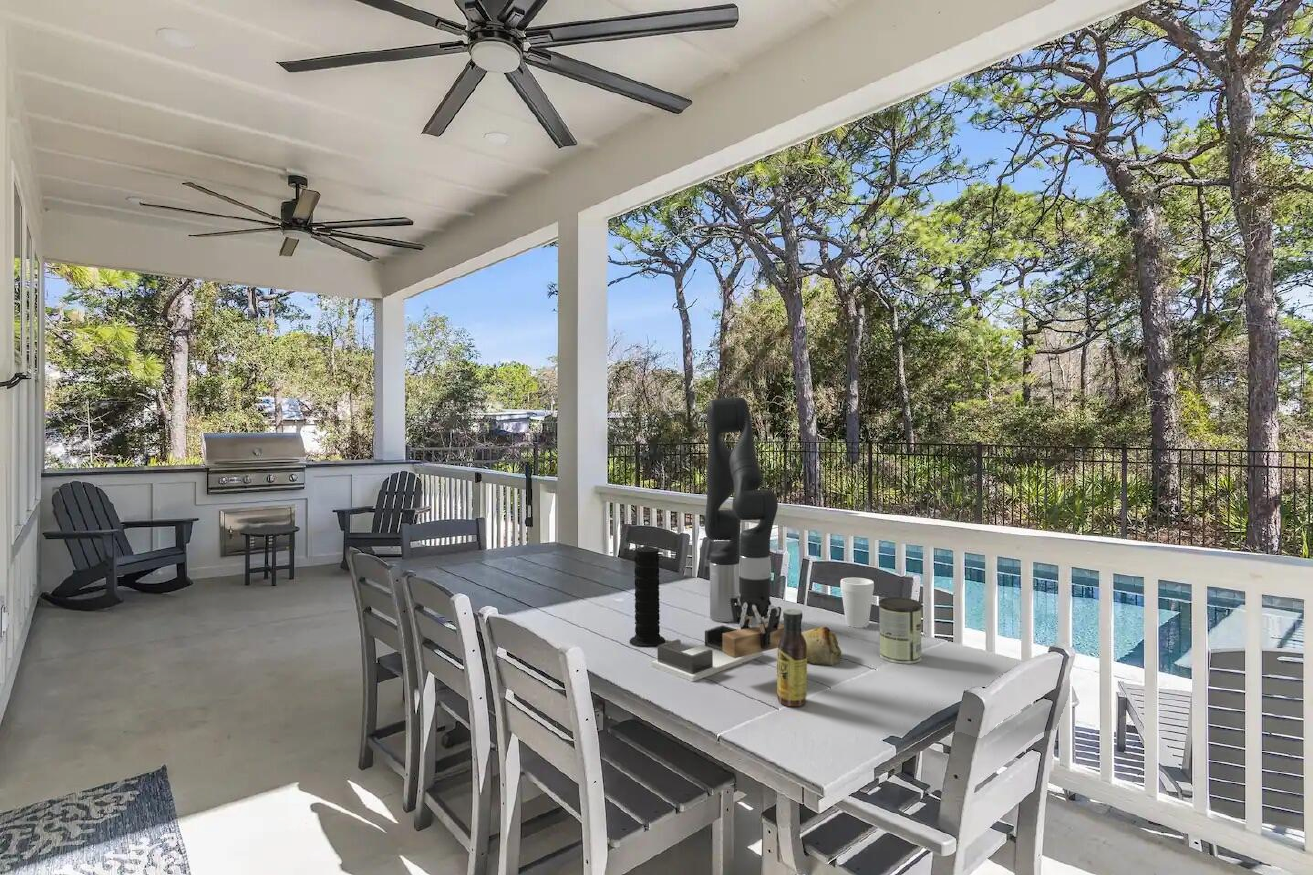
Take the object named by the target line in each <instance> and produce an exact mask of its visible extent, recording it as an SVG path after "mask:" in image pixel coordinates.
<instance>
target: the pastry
mask: <svg viewBox="0 0 1313 875" xmlns="http://www.w3.org/2000/svg"><path fill="white" fill-rule="evenodd" d="M801 633H802V635H803V637H804V639H805V641H806V644H807V663H812V664H811V665H821V664H823V665H822V666H836V664H837V665H838V662H839V663H840V659H841V656H840V655H841V654H842V650H841V648H840V646H839V641H838V638H837V636H836V634H835V633H834V632H832V630H831V629H830V627H828V626H822V627H816V628H813V629H809V630H807V629H806V630H805V631H802V632H801Z"/></svg>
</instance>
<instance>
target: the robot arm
mask: <svg viewBox="0 0 1313 875" xmlns="http://www.w3.org/2000/svg"><path fill="white" fill-rule="evenodd" d="M751 417H752V415H751V412H750V407H749V405H748V402H747V400H746V399H745V398H743V397H741V396H740V397H739V396H738V397H725V398H715V399H712V400H710V401H709V403H708V405H707V409H706V424H707V447H708V448H707V449H708V450H707V465H706V507H705V515H704V533H705V536H706V538H707V539H708V540H711V541H728V543H727V544H726V545H724V546H723V547H721V548H718V549H716V550H713V551H711V552H710V554H709V618H710V619H711V620H712V621H715V622H721V623H730V622H734V624H737V625H739V627H740V629H745V628H749V627H751V626H749V625H750V624H751V621H752V618H754V619H756V623H757V625H758V626H760V629H761V632H762V633H761V648H762V649H766V648H768V647H769V646H770V633H771V632H774V631H777V630H778V625H779V624H780V619H781V614H782V608H781V607H780V606H775V605H773V604H772V601H771V599H770V598H771V594H772V562H771V560H772V559H771V535H772V530H773V527H774V524H775V519H776V516H777V512H778V507H779V502H778V501H779V500H778V497H777V495H776V494H775V492H774V491H773V490H772V489H771V490H770V489H759V488H760V487H761V486H762V484H763V475H762V472H761V469H760V464H759V461H758V458H757V454H756V447H755V446H756V445H755V440H754V437H755V436H754V433H753V430H754V429H753V425H752V418H751ZM736 432H740V436H739V437H738V440H737V442H736V444H735V445H734V447H733V449H732V451H731V450H730V449H729V447H728V446H727V445H726V444H725V442H724V441H723V438H722V436H721V434H724V433H725V434H726V433H736ZM732 495H733V497H732V503H731V504H732V509H720V508H721V506H722V505H724V503H725V502H726V501H727V500H728V499H729V498H730V497H731V496H732ZM756 520H757V521H758V523H757V525H755V526H754V527H751V528H747V529H745V530H742V531H741V521H756ZM765 626H766V628H765Z"/></svg>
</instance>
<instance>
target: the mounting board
mask: <svg viewBox="0 0 1313 875" xmlns="http://www.w3.org/2000/svg"><path fill="white" fill-rule="evenodd" d="M707 650H712V651H713V667H711V668H709V669H706V670H703V671H700V672H698V673H695V674H690V673H687V672H684V671H682V670H679V669H676V668H674V667H671V666H668V665H666V664H663V663H660V662H658V659H656V660H652V661H651V667H653V668H655V669H658V670H661V671H663V672H666V673H668V674H671V675H674V676H676V677H679V678H681V679H683V680H686V681H690V682H696V681H698V680H702V679H704V678H706V677H708V676H712V675H715V674H716V673H720V672H723V671H725V670H728V669H730V668H733V667H736V666H739V665H740V664H743V662H744V663H747V662H749V661H751V660H754V659H757V658H760V657H762V656H764V651H762V652H758V653H754V654H750V655H746V656H742V657H738V658H733V657H731V656H729V655H727V654H725V653H723V652H722V651H719V650H716V649H713V648H710V647H707V646H705V643H704V644H701V645H698V646H695V647H691V648H689V649H686V650H681V652H684V653H687V654H689V655H695V654H698V653H701V652H704V651H707Z"/></svg>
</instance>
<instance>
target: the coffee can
mask: <svg viewBox="0 0 1313 875" xmlns="http://www.w3.org/2000/svg"><path fill="white" fill-rule="evenodd" d="M878 605H879V606H878V610H879V611H878V612H879V614H878V615H879V616H878V617H879V620H878V621H879V622H878V623H879V630H878V631H879V634H878V635H879V657H880V658H881V659H882V660H884V661H887V662H890V663H895V664H903V665H904V664H906V665H912V664H917V663H920V662H921V661H922V605H923V604H922V603H921V602H920V601H918V600H916V599H913V598H906V597H900V596H898V597H895V596H893V597H890V596H889V597H884V598H880V599H879V600H878Z"/></svg>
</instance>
